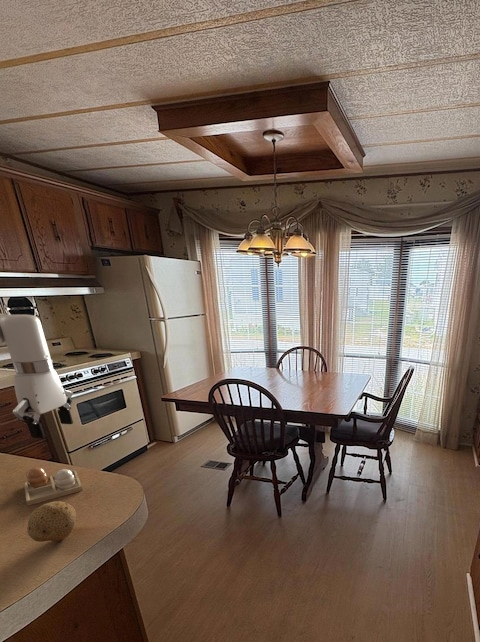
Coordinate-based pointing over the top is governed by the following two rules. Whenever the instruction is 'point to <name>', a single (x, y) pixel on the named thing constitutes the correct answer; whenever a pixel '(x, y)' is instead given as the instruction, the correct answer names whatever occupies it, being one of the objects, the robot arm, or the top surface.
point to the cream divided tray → (49, 490)
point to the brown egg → (37, 477)
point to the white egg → (64, 479)
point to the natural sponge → (51, 522)
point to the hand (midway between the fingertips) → (53, 430)
